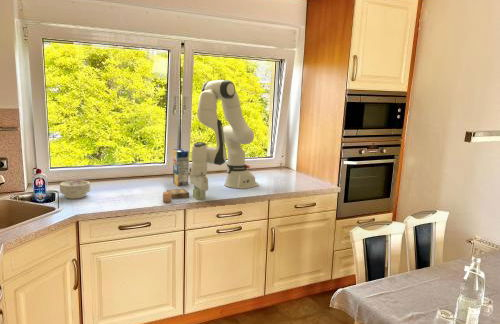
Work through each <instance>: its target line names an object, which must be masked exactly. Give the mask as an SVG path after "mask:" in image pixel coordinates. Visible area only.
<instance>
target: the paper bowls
mask: <svg viewBox="0 0 500 324" xmlns="http://www.w3.org/2000/svg"><path fill="white" fill-rule="evenodd" d="M59 192H60V194H62V195H64V197H65V198H67V199H72V200H75V199H82V198H84V197H86V195H87V193H90V192H91V182H90V181H88V180H82V179H79V180H78V179H76V180H75V179H74V180H67V181H62V182H60V183H59Z"/></svg>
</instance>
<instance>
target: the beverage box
mask: <svg viewBox="0 0 500 324" xmlns="http://www.w3.org/2000/svg"><path fill="white" fill-rule="evenodd" d="M172 151H173V152H172V153H173V154H172V157H173V158H172V160H173V161H172V162H173V164H172V166H173V171H172V173H173V174H172V178H173V179H172V181H173V183H174V185H176V186H177V187H182V186H189V163H190V162H189V154H190V153H189V150H186V149H184V148H174V149H172Z"/></svg>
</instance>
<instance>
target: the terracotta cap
mask: <svg viewBox="0 0 500 324" xmlns="http://www.w3.org/2000/svg"><path fill="white" fill-rule="evenodd" d="M162 202H163V203H165V204H167V203H168V202H169V203H171V202H172V198H171V192H167V191H163V192H162Z"/></svg>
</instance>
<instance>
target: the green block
mask: <svg viewBox="0 0 500 324" xmlns="http://www.w3.org/2000/svg"><path fill="white" fill-rule="evenodd" d="M199 193H200V189H199V188H194V187H193V188H192V197H193V198H194V199H195V200H202V199H203V200H205V199H206V191H204V193H203V197H200V196H199Z"/></svg>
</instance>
